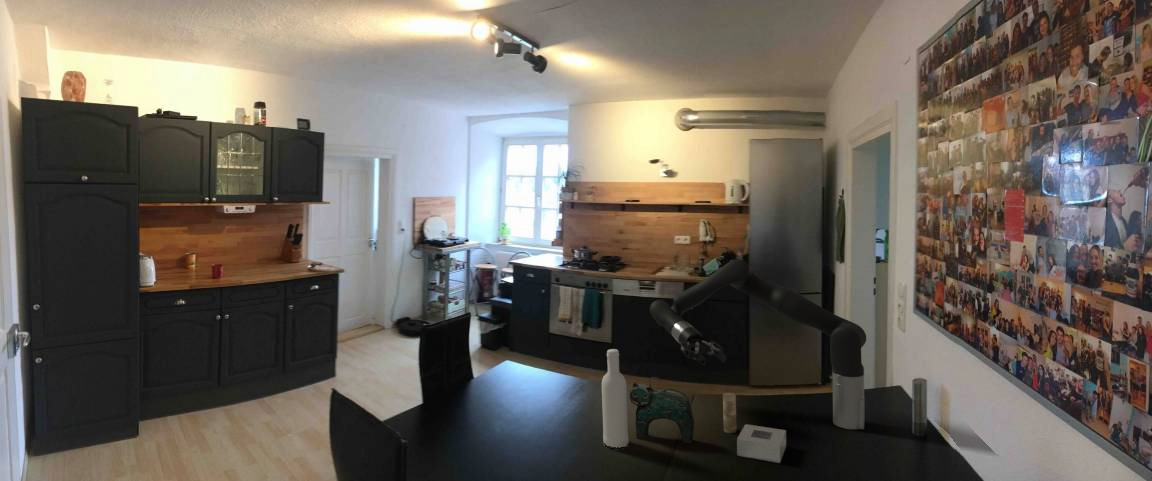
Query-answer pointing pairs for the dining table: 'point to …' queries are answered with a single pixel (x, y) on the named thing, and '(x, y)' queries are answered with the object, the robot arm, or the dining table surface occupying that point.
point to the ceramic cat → (661, 409)
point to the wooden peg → (729, 412)
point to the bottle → (614, 403)
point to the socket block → (761, 443)
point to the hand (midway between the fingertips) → (715, 361)
